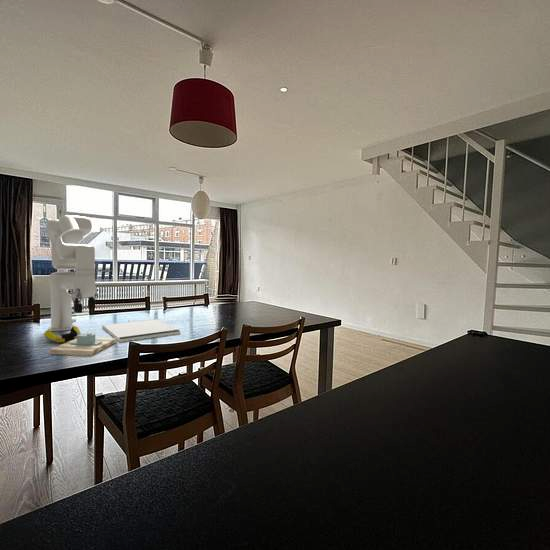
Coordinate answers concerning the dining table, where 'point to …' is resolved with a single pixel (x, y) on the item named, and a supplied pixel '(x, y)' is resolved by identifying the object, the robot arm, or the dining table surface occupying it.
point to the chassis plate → (82, 347)
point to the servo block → (86, 340)
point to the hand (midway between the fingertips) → (85, 310)
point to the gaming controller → (63, 337)
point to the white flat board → (139, 329)
